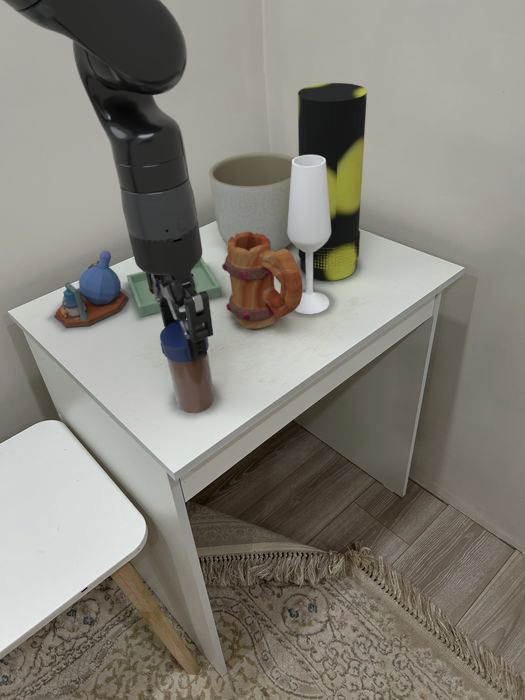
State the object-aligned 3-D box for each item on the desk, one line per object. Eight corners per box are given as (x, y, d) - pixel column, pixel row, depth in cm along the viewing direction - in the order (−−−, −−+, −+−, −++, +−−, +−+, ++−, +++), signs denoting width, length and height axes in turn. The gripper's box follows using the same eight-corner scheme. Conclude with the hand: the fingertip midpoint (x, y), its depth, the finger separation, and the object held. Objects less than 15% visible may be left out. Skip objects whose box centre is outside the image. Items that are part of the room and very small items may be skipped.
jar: (182, 417, 72) (168, 354, 65) (172, 393, 76) (158, 330, 69) (219, 406, 74) (209, 342, 67) (208, 382, 78) (198, 320, 71)
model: (109, 284, 100) (97, 238, 94) (136, 303, 94) (124, 256, 88) (48, 311, 94) (31, 264, 88) (73, 334, 88) (56, 286, 82)
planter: (269, 216, 118) (265, 145, 108) (321, 245, 107) (321, 168, 97) (202, 242, 110) (191, 168, 101) (250, 275, 99) (243, 196, 90)
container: (339, 288, 94) (346, 105, 75) (287, 271, 100) (281, 96, 81) (368, 261, 101) (381, 86, 82) (318, 247, 106) (320, 79, 87)
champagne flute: (281, 300, 92) (275, 160, 77) (313, 287, 95) (313, 148, 80) (305, 319, 88) (303, 173, 73) (337, 304, 91) (342, 161, 75)
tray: (140, 317, 91) (138, 307, 90) (128, 284, 99) (126, 275, 98) (221, 296, 95) (220, 286, 93) (203, 266, 103) (201, 257, 102)
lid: (168, 368, 66) (165, 353, 65) (157, 341, 71) (154, 327, 69) (214, 354, 68) (212, 340, 66) (201, 329, 72) (199, 315, 71)
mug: (218, 318, 90) (207, 235, 80) (255, 298, 94) (249, 216, 84) (278, 358, 81) (274, 271, 71) (317, 334, 85) (317, 248, 75)
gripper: (106, 207, 62) (137, 324, 72) (155, 258, 52) (182, 385, 62) (167, 190, 64) (188, 305, 75) (224, 235, 55) (239, 361, 65)
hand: (185, 341), depth 68 cm, fingers open, 7 cm apart
